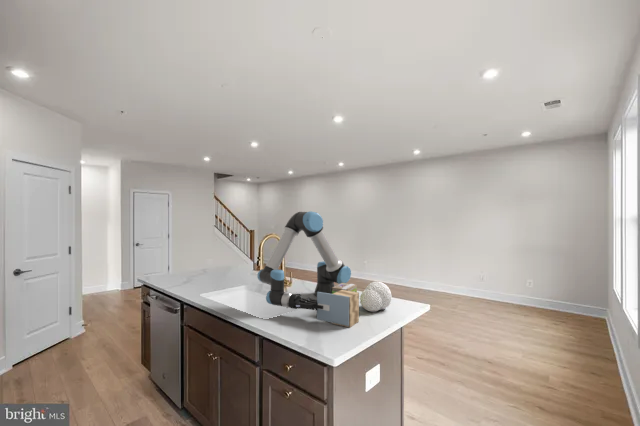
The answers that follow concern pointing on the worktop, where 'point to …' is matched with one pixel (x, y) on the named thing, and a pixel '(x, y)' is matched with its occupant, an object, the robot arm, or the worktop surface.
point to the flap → (333, 308)
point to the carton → (351, 306)
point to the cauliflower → (375, 297)
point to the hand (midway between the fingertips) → (330, 307)
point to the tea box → (344, 287)
